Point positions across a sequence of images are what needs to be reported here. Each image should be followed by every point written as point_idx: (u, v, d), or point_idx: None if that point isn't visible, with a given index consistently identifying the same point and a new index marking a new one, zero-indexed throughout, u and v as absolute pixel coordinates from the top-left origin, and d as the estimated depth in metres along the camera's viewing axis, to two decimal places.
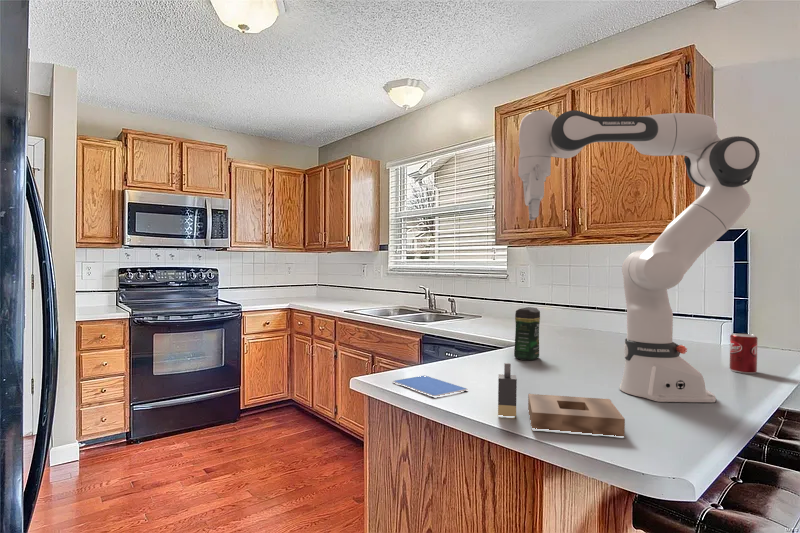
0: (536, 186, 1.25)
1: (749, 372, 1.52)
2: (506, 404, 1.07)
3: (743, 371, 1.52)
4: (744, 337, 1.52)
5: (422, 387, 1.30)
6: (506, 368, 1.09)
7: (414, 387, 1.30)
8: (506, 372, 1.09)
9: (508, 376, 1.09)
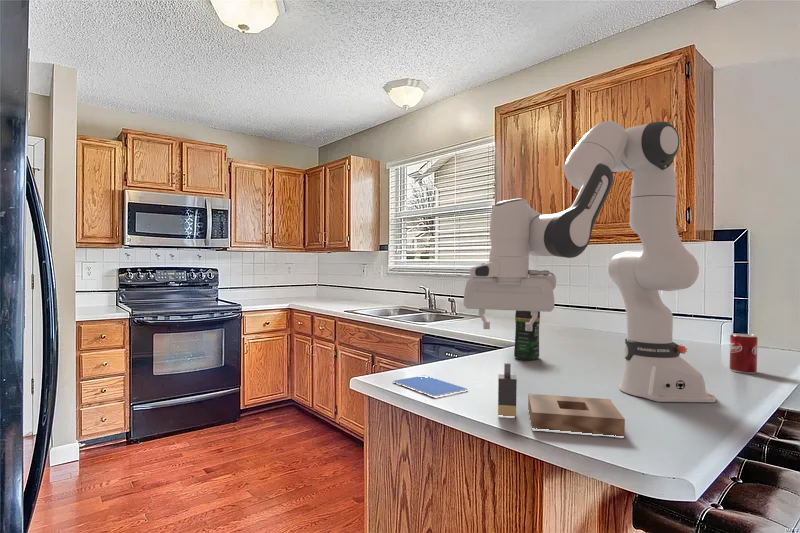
0: None
1: (749, 372, 1.52)
2: (506, 404, 1.07)
3: (743, 371, 1.52)
4: (744, 337, 1.52)
5: (422, 387, 1.30)
6: (506, 368, 1.09)
7: (414, 387, 1.30)
8: (506, 372, 1.09)
9: (508, 376, 1.09)
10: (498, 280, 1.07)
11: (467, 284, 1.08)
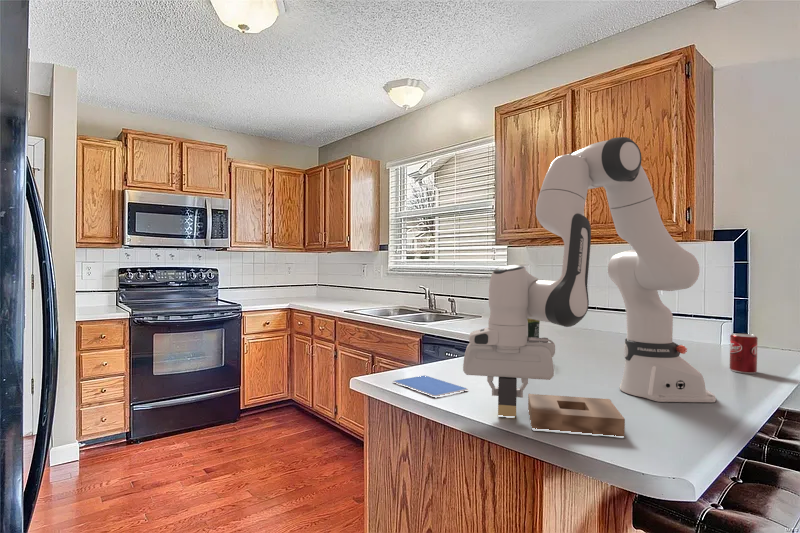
0: None
1: (749, 372, 1.52)
2: (506, 404, 1.07)
3: (743, 371, 1.52)
4: (744, 337, 1.52)
5: (422, 387, 1.30)
6: None
7: (414, 387, 1.30)
8: None
9: None
10: (497, 348, 1.07)
11: (466, 351, 1.09)
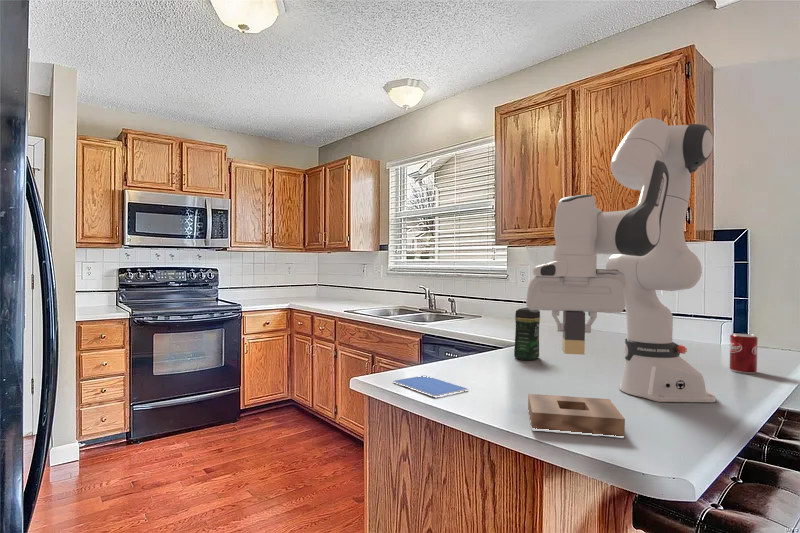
0: None
1: (749, 372, 1.52)
2: (574, 339, 1.02)
3: (743, 371, 1.52)
4: (744, 337, 1.52)
5: (422, 387, 1.30)
6: None
7: (414, 387, 1.30)
8: None
9: None
10: (565, 280, 1.02)
11: (531, 284, 1.04)
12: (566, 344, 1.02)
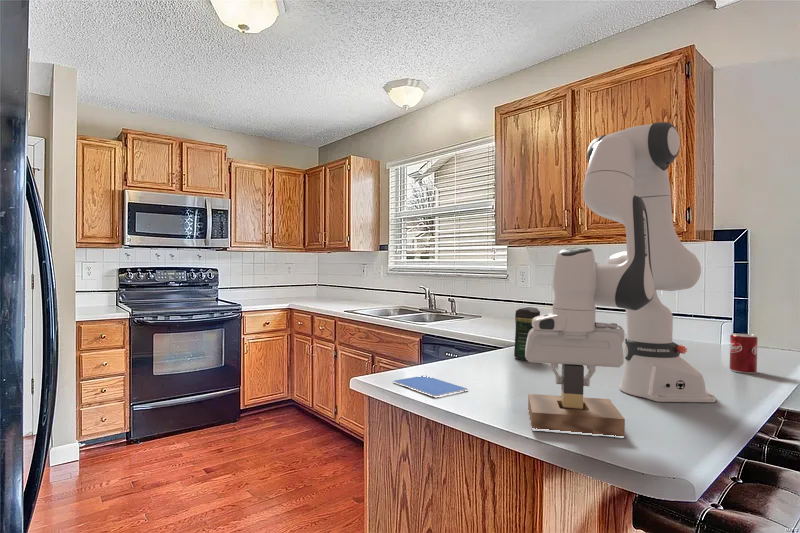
0: None
1: (749, 372, 1.52)
2: (572, 393, 1.02)
3: (743, 371, 1.52)
4: (744, 337, 1.52)
5: (422, 387, 1.30)
6: None
7: (414, 387, 1.30)
8: None
9: None
10: (563, 333, 1.02)
11: (530, 337, 1.04)
12: (565, 398, 1.03)
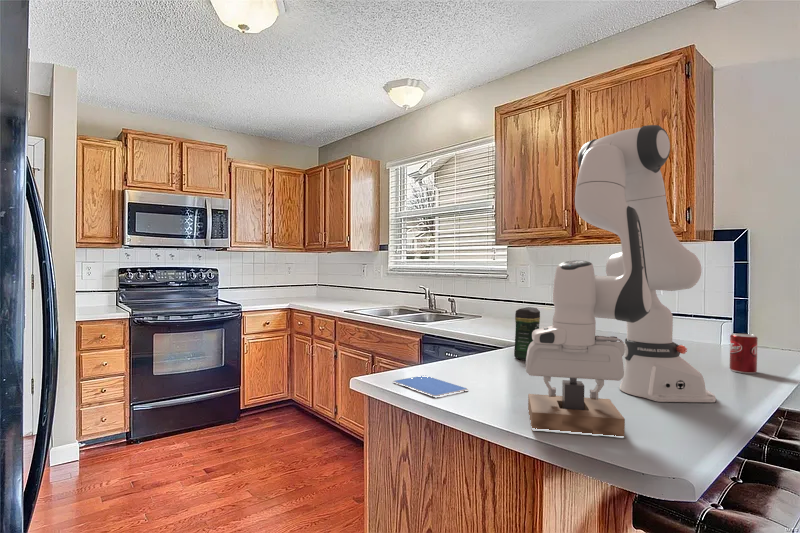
0: None
1: (749, 372, 1.52)
2: None
3: (743, 371, 1.52)
4: (744, 337, 1.52)
5: (422, 387, 1.30)
6: None
7: (414, 387, 1.30)
8: (572, 378, 1.04)
9: (574, 382, 1.04)
10: (564, 347, 1.03)
11: (530, 350, 1.04)
12: None
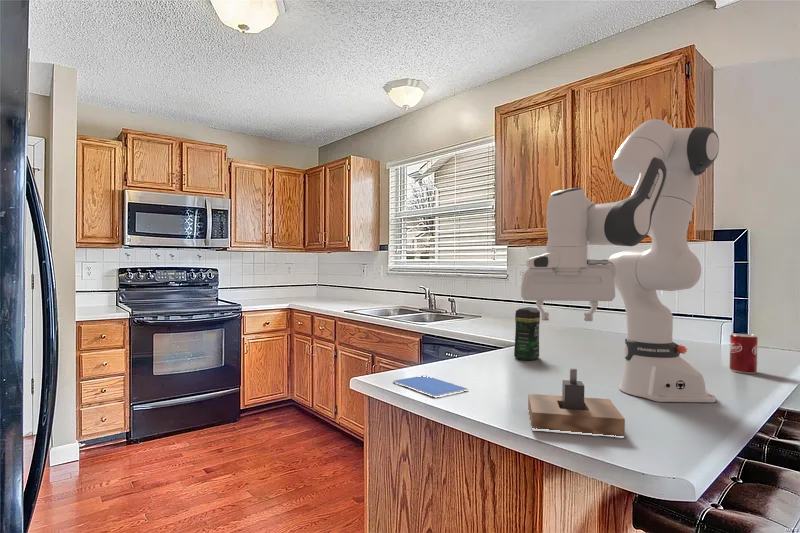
0: None
1: (749, 372, 1.52)
2: None
3: (743, 371, 1.52)
4: (744, 337, 1.52)
5: (422, 387, 1.30)
6: (572, 374, 1.04)
7: (414, 387, 1.30)
8: (572, 378, 1.04)
9: (574, 382, 1.04)
10: (557, 271, 1.06)
11: (525, 275, 1.07)
12: None
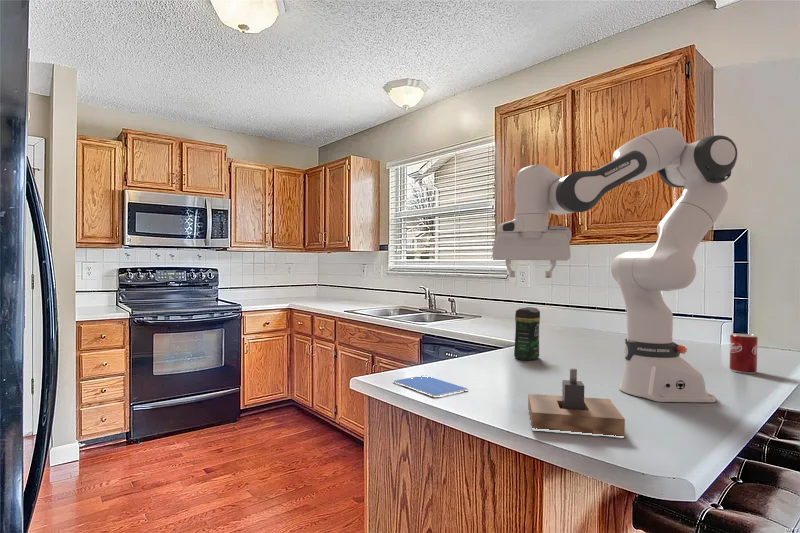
0: None
1: (749, 372, 1.52)
2: None
3: (743, 371, 1.52)
4: (744, 337, 1.52)
5: (422, 387, 1.30)
6: (572, 374, 1.04)
7: (414, 387, 1.30)
8: (572, 378, 1.04)
9: (574, 382, 1.04)
10: (522, 234, 1.26)
11: (495, 238, 1.28)
12: None
